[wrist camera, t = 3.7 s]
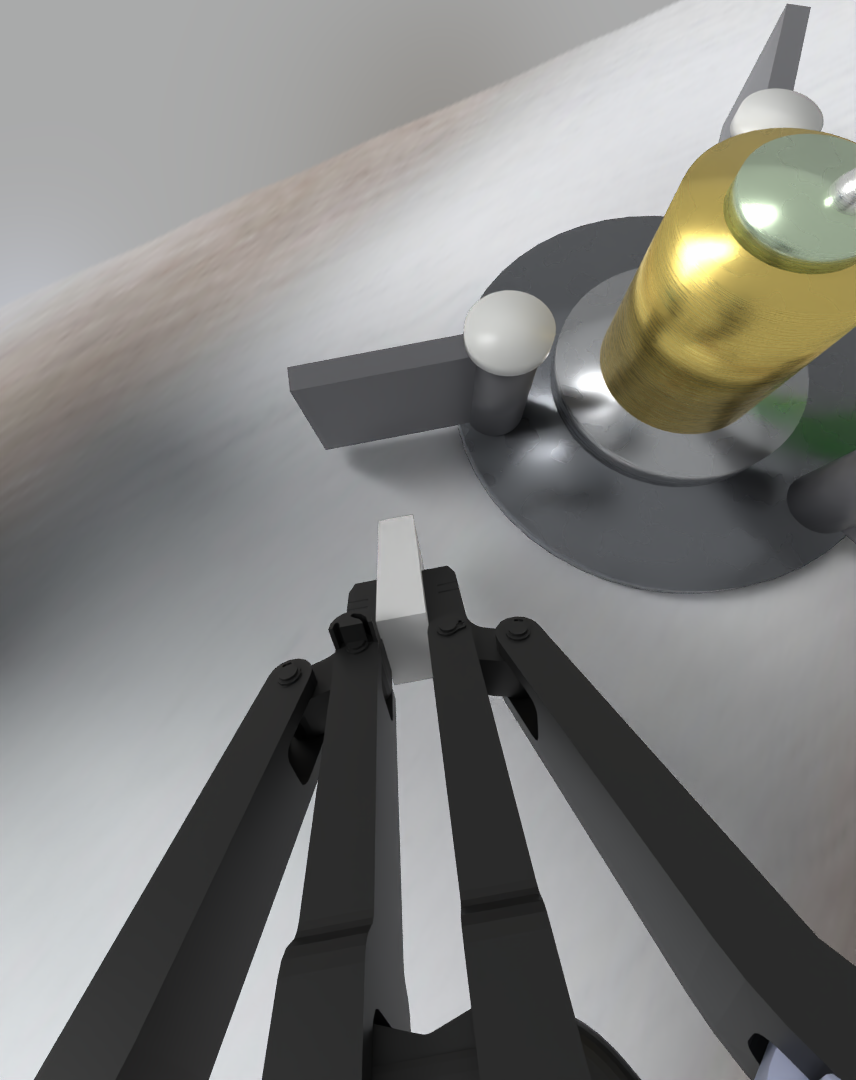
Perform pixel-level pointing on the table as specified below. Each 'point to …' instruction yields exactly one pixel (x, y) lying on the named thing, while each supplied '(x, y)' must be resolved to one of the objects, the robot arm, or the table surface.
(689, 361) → the tribrach
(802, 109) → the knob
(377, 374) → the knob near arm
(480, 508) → the table surface
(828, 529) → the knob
